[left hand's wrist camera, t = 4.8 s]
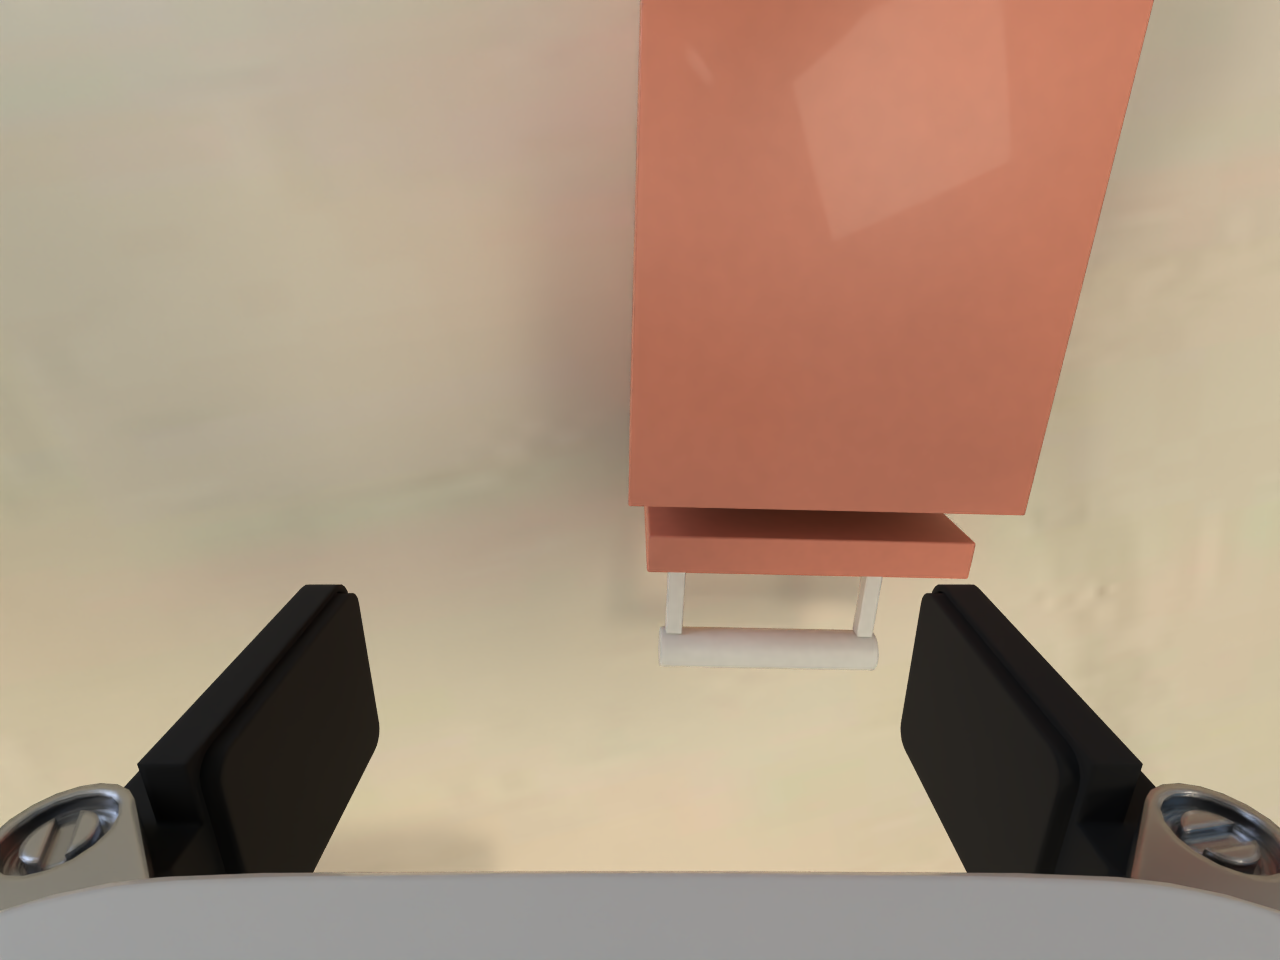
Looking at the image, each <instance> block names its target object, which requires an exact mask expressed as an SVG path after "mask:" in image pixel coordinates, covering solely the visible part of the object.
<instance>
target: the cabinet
mask: <svg viewBox="0 0 1280 960" xmlns="http://www.w3.org/2000/svg"><path fill="white" fill-rule="evenodd" d="M1153 1H1154V0H640V29H639V69H638V108H637V148H636V187H635V227H634V266H633V306H632V345H631V385H630V434H629V500H628V504H629V506H654V507H696V508H738V509H781V510H823V511H865V512H908V513H950V514H992V515H1024V514H1025V511H1026V507H1027V503H1028V499H1029V495H1030V491H1031V487H1032V483H1033V479H1034V475H1035V471H1036V467H1037V463H1038V459H1039V455H1040V451H1041V447H1042V443H1043V439H1044V435H1045V431H1046V427H1047V423H1048V419H1049V415H1050V412H1051V408H1052V404H1053V400H1054V396H1055V392H1056V388H1057V384H1058V380H1059V376H1060V372H1061V368H1062V364H1063V360H1064V356H1065V352H1066V348H1067V344H1068V340H1069V336H1070V332H1071V328H1072V324H1073V320H1074V316H1075V312H1076V308H1077V304H1078V300H1079V296H1080V292H1081V288H1082V284H1083V280H1084V276H1085V272H1086V268H1087V264H1088V260H1089V256H1090V252H1091V248H1092V244H1093V240H1094V236H1095V232H1096V228H1097V224H1098V220H1099V216H1100V212H1101V208H1102V204H1103V201H1104V197H1105V193H1106V189H1107V185H1108V181H1109V177H1110V173H1111V169H1112V165H1113V161H1114V157H1115V153H1116V149H1117V145H1118V141H1119V137H1120V133H1121V129H1122V125H1123V121H1124V117H1125V113H1126V109H1127V105H1128V101H1129V97H1130V93H1131V89H1132V85H1133V81H1134V77H1135V73H1136V69H1137V65H1138V61H1139V57H1140V53H1141V49H1142V45H1143V41H1144V37H1145V33H1146V29H1147V25H1148V21H1149V17H1150V13H1151V9H1152V5H1153Z"/></svg>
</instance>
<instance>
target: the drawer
mask: <svg viewBox="0 0 1280 960" xmlns="http://www.w3.org/2000/svg"><path fill="white" fill-rule="evenodd" d="M644 510H645V534H646V558H647V571H648V572H668V581H667V601H666V621H665V626H661V627H660V629H659V665H660V666H662V667H713V668H766V669H819V670H874V669H875V668H876V666H877V663H878V657H879V650H878V643H877V639H876V637H875V634H874V633H873V628H874V623H875V617H876V611H877V606H878V600H879V594H880V589H881V583H882V577H910V578H956V579H967V578H968V575H969V571H970V566H971V562H972V558H973V553H974V549H975V543H974V542H973V541H972V540H971V539H970V538H969V537H968V536H967V535H966V534H965V533H964V532H963V531H962V530H960V529H959V528H958V527H957V526H956V525H955V524H954V523H953V522H952V521H951V520H950V519H949V518H948V517H947V516H945V515H944V514H943V513H908V512H865V511H823V510H781V509H738V508H696V507H654V506H644ZM686 573H725V574H772V575H818V576H861V580H860V586H859V592H858V598H857V604H856V610H855V617H854V623H853V630H826V629H776V628H726V627H682V626H683V609H684V593H685V576H686Z"/></svg>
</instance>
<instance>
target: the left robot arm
mask: <svg viewBox="0 0 1280 960" xmlns="http://www.w3.org/2000/svg"><path fill="white" fill-rule="evenodd" d="M378 738H379V720H378V714H377V708H376V702H375V696H374V690H373V684H372V678H371V672H370V667H369V661H368V655H367V649H366V643H365V637H364V631H363V625H362V619H361V613H360V607H359V602H358V598H357V596H356V595H355V594H354V593H348V591H347V590H346V588H345V586H343V585H305V586H303V587H302V588H301V589H300V590H299V591H298V592H297V593H296V594H295V596H294V597H293V598H292V599H291V600H290V601H289V602H288V603H287V604H286V605H285V606H284V607H283V608H282V609H281V611H280V612H279V613H278V614H277V615H276V616H275V617H274V618H273V619H272V620H271V621H270V622H269V623H268V624H267V626H266V627H265V628H264V629H263V630H262V631H261V632H260V633H259V634H258V635H257V636H256V637H255V638H254V639H253V641H252V642H251V643H250V644H249V645H248V646H247V647H246V648H245V649H244V650H243V651H242V652H241V653H240V654H239V656H238V657H237V658H236V659H235V660H234V661H233V662H232V663H231V664H230V665H229V666H228V667H227V668H226V669H225V671H224V672H223V673H222V674H221V675H220V676H219V677H218V678H217V679H216V680H215V681H214V682H213V683H212V684H211V686H210V687H209V688H208V689H207V690H206V691H205V692H204V693H203V694H202V695H201V696H200V697H199V698H198V699H197V700H196V702H195V703H194V704H193V705H192V706H191V707H190V708H189V709H188V710H187V711H186V712H185V713H184V714H183V715H182V717H181V718H180V719H179V720H178V721H177V722H176V723H175V724H174V725H173V726H172V727H171V728H170V729H169V730H168V732H167V733H166V734H165V735H164V736H163V737H162V738H161V739H160V740H159V741H158V742H157V743H156V744H155V745H154V747H153V748H152V749H151V750H150V751H149V752H148V753H147V754H146V755H145V756H144V757H143V758H142V759H141V760H140V762H139V763H138V764H137V765H138V768H139V772H138V773H137V774H136V775H135V776H134V777H133V778H132V779H131V780H130V781H129V783H128V784H127V785H126V786H125V787H122V786H120V785H118V784H105V783H99V784H92V785H85V786H79V787H76V788H73V789H70V790H67V791H64V792H61V793H57V794H55V795H53V796H51V797H49V798H47V799H44V800H42V801H40V802H38V803H36V804H34V805H32V806H30V807H29V808H27V809H26V810H24V811H22V812H21V813H19V814H18V815H16V816H15V817H13V818H11V819H10V820H9V821H8V822H6V823H5V824H4V825H3V826H2V827H1V828H0V960H1280V828H1279V827H1278V826H1277V825H1276V824H1275V823H1274V822H1272V821H1271V820H1270V819H1269V818H1267V817H1265V816H1264V815H1262V814H1261V813H1259V812H1258V811H1256V810H1254V809H1253V808H1251V807H1250V806H1248V805H1246V804H1244V803H1242V802H1240V801H1238V800H1236V799H1233V798H1231V797H1229V796H1227V795H1225V794H1223V793H1219V792H1216V791H1213V790H1210V789H1207V788H1204V787H1201V786H1195V785H1188V784H1181V783H1175V784H1162V785H1160V786H1158V787H1155V786H1154V785H1153V784H1152V783H1151V781H1150V780H1149V779H1148V778H1147V777H1146V776H1145V775H1144V774H1143V773H1142V772H1141V768H1142V765H1143V764H1142V763H1141V762H1140V760H1139V759H1138V758H1137V757H1136V756H1135V755H1134V754H1133V753H1132V752H1131V751H1130V750H1129V749H1128V748H1127V747H1126V745H1125V744H1124V743H1123V742H1122V741H1121V740H1120V739H1119V738H1118V737H1117V736H1116V735H1115V734H1114V733H1113V732H1112V730H1111V729H1110V728H1109V727H1108V726H1107V725H1106V724H1105V723H1104V722H1103V721H1102V720H1101V719H1100V718H1099V717H1098V715H1097V714H1096V713H1095V712H1094V711H1093V710H1092V709H1091V708H1090V707H1089V706H1088V705H1087V704H1086V703H1085V702H1084V700H1083V699H1082V698H1081V697H1080V696H1079V695H1078V694H1077V693H1076V692H1075V691H1074V690H1073V689H1072V688H1071V687H1070V686H1069V684H1068V683H1067V682H1066V681H1065V680H1064V679H1063V678H1062V677H1061V676H1060V675H1059V674H1058V673H1057V672H1056V671H1055V669H1054V668H1053V667H1052V666H1051V665H1050V664H1049V663H1048V662H1047V661H1046V660H1045V659H1044V658H1043V657H1042V656H1041V654H1040V653H1039V652H1038V651H1037V650H1036V649H1035V648H1034V647H1033V646H1032V645H1031V644H1030V643H1029V642H1028V641H1027V639H1026V638H1025V637H1024V636H1023V635H1022V634H1021V633H1020V632H1019V631H1018V630H1017V629H1016V628H1015V627H1014V626H1013V624H1012V623H1011V622H1010V621H1009V620H1008V619H1007V618H1006V617H1005V616H1004V615H1003V614H1002V613H1001V612H1000V611H999V609H998V608H997V607H996V606H995V605H994V604H993V603H992V602H991V601H990V600H989V599H988V598H987V597H986V596H985V594H984V593H983V592H982V591H981V590H980V589H979V588H978V587H977V586H975V585H937V586H935V588H934V590H933V591H932V593H926V594H925V595H924V596H923V598H922V602H921V607H920V613H919V619H918V625H917V631H916V637H915V643H914V649H913V655H912V661H911V667H910V672H909V678H908V684H907V690H906V696H905V702H904V708H903V714H902V720H901V738H902V743H903V746H904V749H905V751H906V753H907V755H908V757H909V759H910V761H911V763H912V765H913V767H914V769H915V771H916V773H917V775H918V776H919V778H920V780H921V782H922V784H923V786H924V788H925V790H926V792H927V794H928V796H929V798H930V800H931V802H932V804H933V806H934V808H935V810H936V812H937V814H938V816H939V818H940V820H941V822H942V824H943V826H944V828H945V830H946V832H947V834H948V836H949V838H950V840H951V842H952V844H953V846H954V848H955V850H956V852H957V854H958V856H959V858H960V860H961V862H962V864H963V866H964V868H965V869H966V871H967V873H932V872H768V871H512V872H347V873H313V871H314V869H315V868H316V866H317V864H318V862H319V860H320V858H321V856H322V854H323V852H324V850H325V848H326V846H327V844H328V842H329V840H330V838H331V836H332V834H333V832H334V830H335V828H336V826H337V824H338V822H339V820H340V818H341V816H342V814H343V812H344V810H345V808H346V806H347V804H348V802H349V800H350V798H351V796H352V794H353V792H354V790H355V788H356V786H357V784H358V782H359V780H360V778H361V776H362V775H363V773H364V771H365V769H366V767H367V765H368V763H369V761H370V759H371V757H372V755H373V753H374V751H375V749H376V746H377V743H378Z"/></svg>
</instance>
